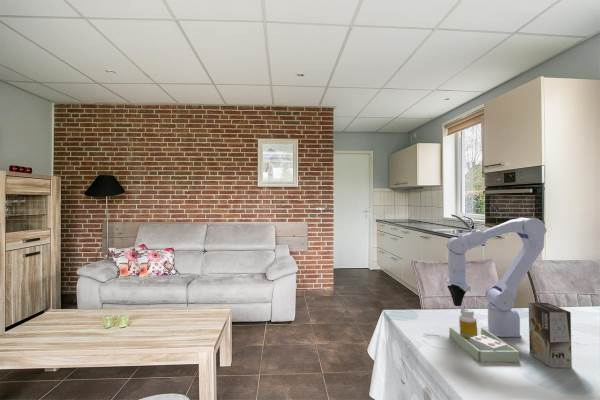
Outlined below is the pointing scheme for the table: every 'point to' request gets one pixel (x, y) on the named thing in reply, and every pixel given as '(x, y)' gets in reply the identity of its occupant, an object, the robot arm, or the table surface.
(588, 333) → the table surface
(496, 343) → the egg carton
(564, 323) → the coffee box
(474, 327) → the supplement bottle
